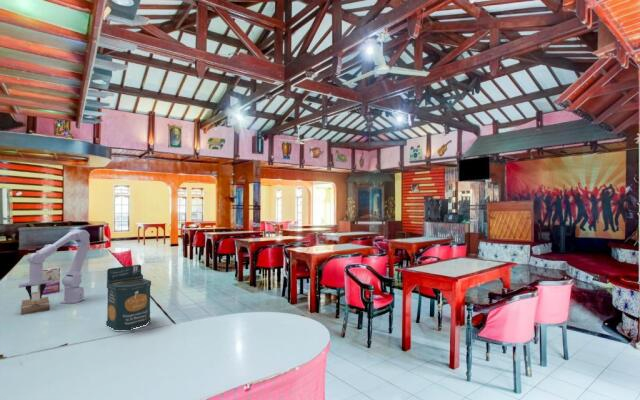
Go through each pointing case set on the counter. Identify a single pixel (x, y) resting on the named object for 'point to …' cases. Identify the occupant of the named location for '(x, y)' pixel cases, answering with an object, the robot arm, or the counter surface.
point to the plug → (35, 297)
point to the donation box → (127, 298)
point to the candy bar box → (55, 277)
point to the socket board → (35, 306)
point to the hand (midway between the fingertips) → (35, 298)
